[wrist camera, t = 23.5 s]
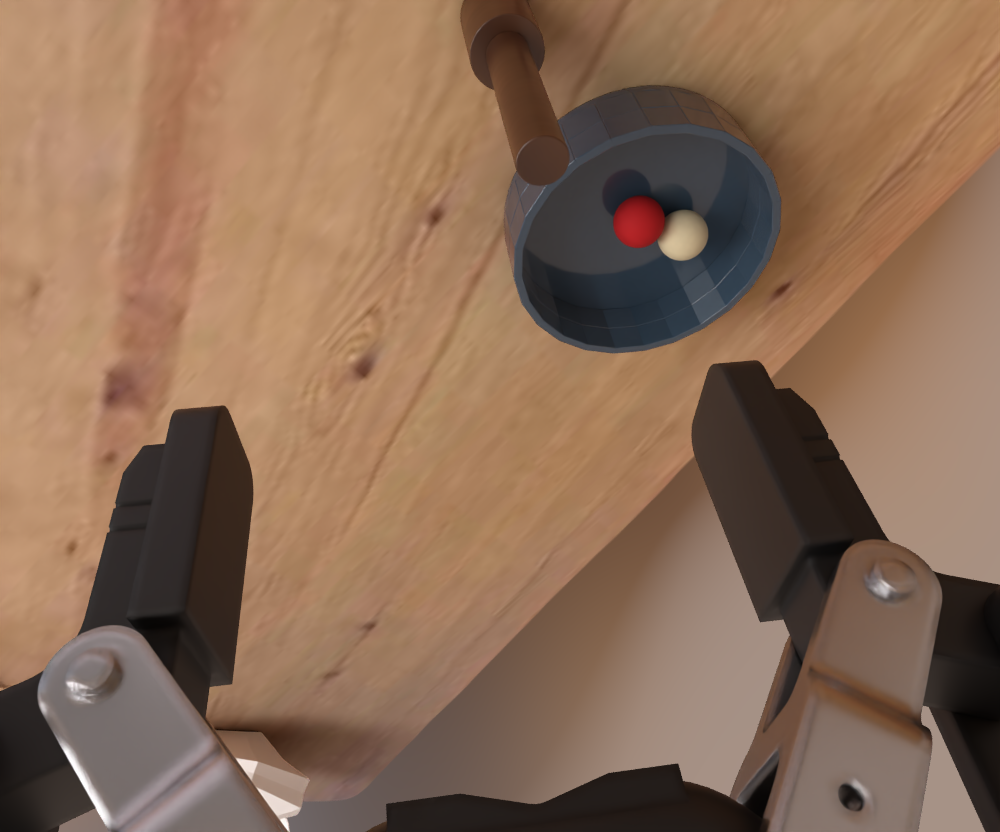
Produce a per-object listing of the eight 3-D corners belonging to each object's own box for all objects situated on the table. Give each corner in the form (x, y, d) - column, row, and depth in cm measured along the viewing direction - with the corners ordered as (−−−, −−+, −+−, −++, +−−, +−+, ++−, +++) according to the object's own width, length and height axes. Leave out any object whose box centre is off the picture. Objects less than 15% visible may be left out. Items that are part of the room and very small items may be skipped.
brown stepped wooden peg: (495, -39, 34) (546, 96, 25) (543, 14, 36) (607, 158, 27) (445, 18, 36) (477, 165, 27) (494, 66, 38) (539, 219, 29)
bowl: (657, 21, 37) (682, 58, 34) (797, 199, 46) (827, 240, 44) (451, 222, 45) (457, 267, 42) (607, 342, 54) (622, 386, 51)
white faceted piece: (87, 729, 91) (60, 843, 82) (280, 691, 90) (272, 802, 81) (185, 784, 109) (171, 882, 101) (345, 753, 108) (345, 849, 100)
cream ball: (678, 231, 47) (679, 192, 45) (717, 250, 46) (720, 211, 43) (647, 258, 46) (646, 219, 44) (685, 278, 45) (687, 239, 42)
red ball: (601, 235, 43) (603, 220, 45) (643, 264, 43) (642, 248, 46) (634, 192, 41) (635, 179, 44) (676, 223, 42) (674, 209, 44)
